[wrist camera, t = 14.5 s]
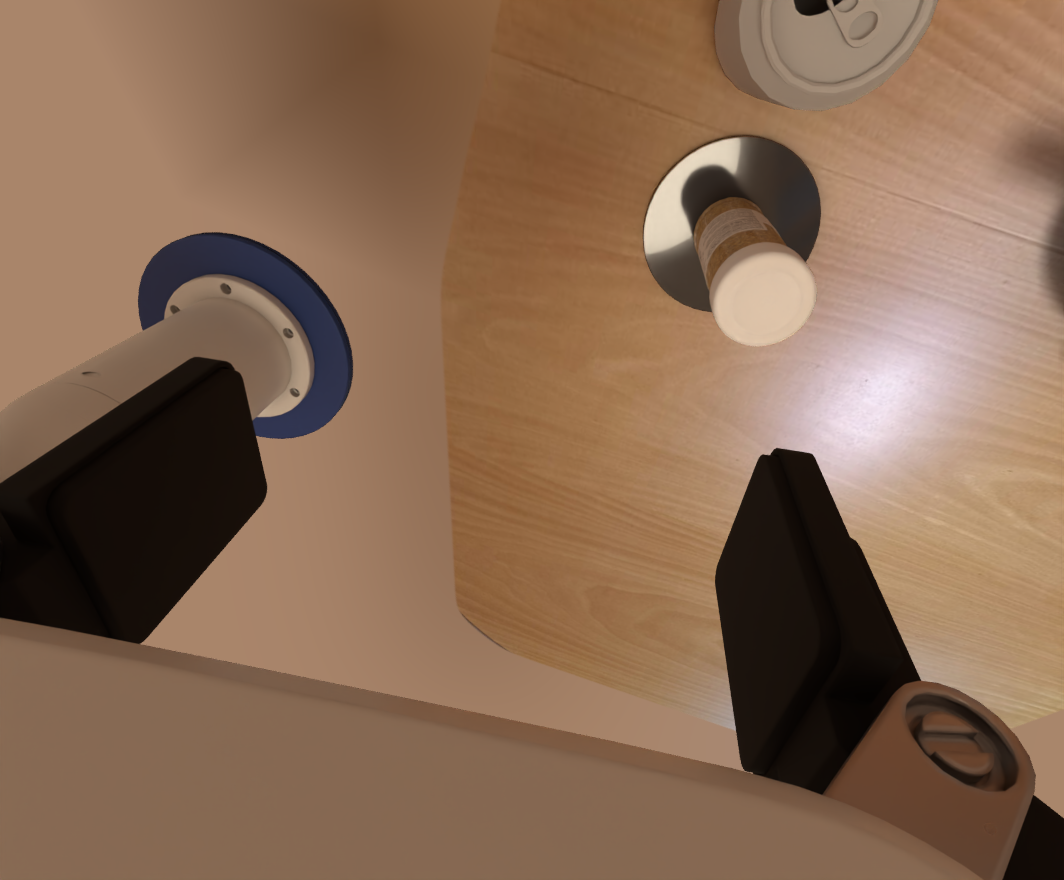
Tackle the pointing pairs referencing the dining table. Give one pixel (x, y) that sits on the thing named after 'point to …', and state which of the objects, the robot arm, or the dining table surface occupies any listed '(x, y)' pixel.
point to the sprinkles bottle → (752, 274)
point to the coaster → (718, 175)
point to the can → (816, 47)
